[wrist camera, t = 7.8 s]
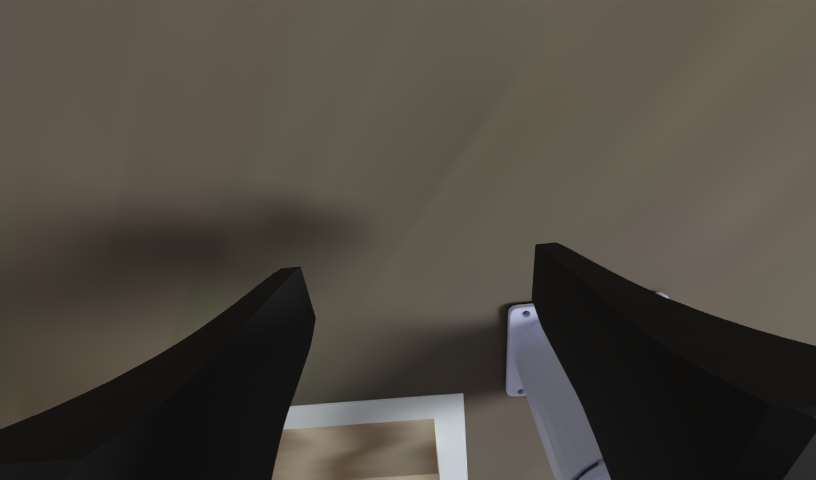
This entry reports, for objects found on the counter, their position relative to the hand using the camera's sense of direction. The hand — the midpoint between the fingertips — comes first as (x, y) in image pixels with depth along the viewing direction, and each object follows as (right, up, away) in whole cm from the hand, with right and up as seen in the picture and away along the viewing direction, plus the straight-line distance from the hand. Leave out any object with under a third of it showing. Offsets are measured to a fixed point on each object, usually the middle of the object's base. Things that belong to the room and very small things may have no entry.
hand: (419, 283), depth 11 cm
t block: (-4, -18, +19) cm, 27 cm away
